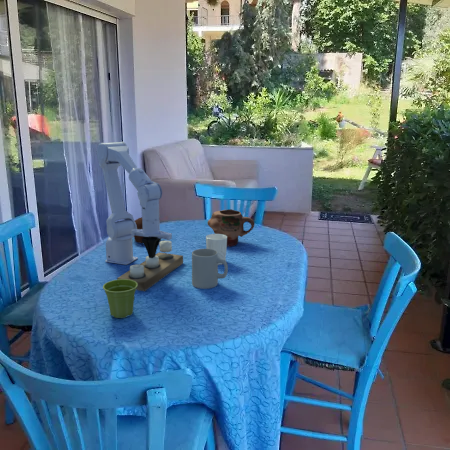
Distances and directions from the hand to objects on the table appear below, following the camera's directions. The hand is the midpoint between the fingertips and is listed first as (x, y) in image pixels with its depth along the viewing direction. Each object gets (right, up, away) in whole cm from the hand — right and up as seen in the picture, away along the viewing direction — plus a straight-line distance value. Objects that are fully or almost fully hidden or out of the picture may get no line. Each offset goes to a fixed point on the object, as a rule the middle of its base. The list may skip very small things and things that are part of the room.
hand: (152, 257), depth 155 cm
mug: (+20, -9, -7) cm, 23 cm away
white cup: (+22, -3, +14) cm, 26 cm away
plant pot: (-4, -14, -28) cm, 31 cm away
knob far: (+4, +2, +9) cm, 10 cm away
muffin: (-10, +4, +40) cm, 42 cm away
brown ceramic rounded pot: (+28, +3, +37) cm, 46 cm away
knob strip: (0, -6, +2) cm, 6 cm away
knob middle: (0, -3, +1) cm, 3 cm away
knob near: (-4, -5, -8) cm, 10 cm away
